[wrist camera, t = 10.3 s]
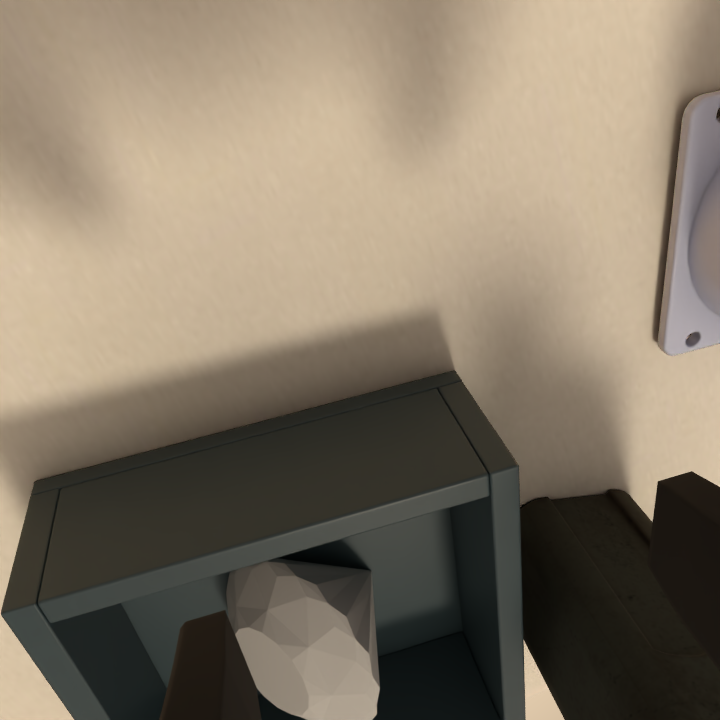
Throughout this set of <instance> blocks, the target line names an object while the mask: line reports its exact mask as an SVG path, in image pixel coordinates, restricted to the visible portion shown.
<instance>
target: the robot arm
mask: <svg viewBox="0 0 720 720" xmlns="http://www.w3.org/2000/svg"><path fill="white" fill-rule="evenodd" d="M719 108H720V90H719V91H714V92H710V93H705V94H701V95H699V96H697V97H695V98H694V99H693V100H692V101H690V102H689V104H688V105H687V107H686V108H685V110H684V114H683V117H682V126H681V135H680V144H679V153H678V162H677V171H676V180H675V189H674V199H673V208H672V217H671V226H670V235H669V244H668V253H667V262H666V271H665V281H664V290H663V299H662V308H661V317H660V326H659V335H658V347H659V348H660V349H661V350H662V351H663V352H664V353H666V354H667V355H670V356H675V355H679V354H683V353H687V352H690V351H694V350H698V349H701V348H705V347H709V346H712V345H716V344H720V117H719V118H716V114H717V111H718V109H719ZM691 333H692V334H691ZM690 334H691V336H690V337H689V338H688V339H686V338H687V337H688V336H689V335H690ZM647 565H648V567H649V568H650V570H651V572H652V573H653V575H654V577H655V579H656V580H657V582H658V584H659V585H660V587H661V589H662V590H663V592H664V594H665V596H666V597H667V599H668V600H669V602H670V604H671V605H672V607H673V608H674V610H675V612H676V613H677V615H678V616H679V618H680V620H681V621H682V623H683V624H684V625H685V627H686V628H687V629H688V631H689V632H690V633H691V635H692V636H693V637H694V639H695V640H696V641H697V642H698V644H699V645H700V646H701V648H702V649H703V650H704V652H705V653H706V654H707V655H708V657H709V658H710V659H711V661H712V662H713V663H714V665H715V666H716V667H717V668H718V670H719V671H720V487H719V486H717V485H715V484H713V483H712V482H710V481H708V480H706V479H704V478H703V477H701V476H699V475H697V474H695V473H694V472H688V473H685V474H681V475H678V476H675V477H671V478H668V479H665V480H661V481H658V485H657V493H656V501H655V509H654V517H653V525H652V532H651V540H650V548H649V556H648V564H647ZM159 720H262V719H261V713H260V706H259V700H258V694H257V688H256V685H255V682H254V680H253V677H252V675H251V673H250V670H249V668H248V665H247V663H246V660H245V658H244V655H243V653H242V650H241V648H240V646H239V643H238V641H237V638H236V636H235V633H234V631H233V628H232V626H231V623H230V621H229V619H228V616H227V614H226V611H225V610H223V611H220V612H217V613H213V614H210V615H206V616H203V617H200V618H196V619H193V620H190V621H186V622H185V623H184V624H183V625H182V627H181V628H180V631H179V637H178V642H177V648H176V652H175V657H174V662H173V666H172V671H171V675H170V679H169V683H168V687H167V692H166V695H165V699H164V703H163V707H162V711H161V714H160V718H159Z"/></svg>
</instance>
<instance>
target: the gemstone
mask: <svg viewBox="0 0 720 720" xmlns="http://www.w3.org/2000/svg"><path fill="white" fill-rule="evenodd" d="M226 597H227V608H228V616H229V621H230V623H231V626H232V628H233V631H234V633H235V636H236V638H237V641H238V643H239V646H240V648H241V650H242V653H243V655H244V658H245V660H246V663H247V665H248V668H249V670H250V673H251V675H252V677H253V680H254V682H255V685H256V688H257V689H258V690H259V691H260V692H261V694H262V695H263V696H264V697H265V698H266V699H268V700H269V701H270V702H271V703H273V704H274V705H275V706H276V707H277V708H279V709H281V710H283V711H285V712H287V713H289V714H291V715H295V716H299V717H301V718H304V719H307V720H373V718H374V717H375V716H376V715H377V701H378V696H379V691H380V683H379V669H378V655H377V641H376V627H375V613H374V599H373V585H372V572H371V570H363V569H355V568H347V567H340V566H332V565H324V564H316V563H309V562H301V561H293V560H286V559H278V558H275V559H271V560H268V561H264V562H261V563H257V564H254V565H251V566H247V567H244V568H240V569H237V570H233V571H230V573H229V578H228V584H227V590H226Z"/></svg>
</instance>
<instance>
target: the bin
mask: <svg viewBox="0 0 720 720" xmlns="http://www.w3.org/2000/svg"><path fill="white" fill-rule="evenodd" d="M275 558H278V559H286V560H293V561H301V562H309V563H316V564H324V565H332V566H340V567H347V568H355V569H363V570H371V572H372V585H373V599H374V613H375V627H376V641H377V655H378V669H379V683H380V691H379V696H378V701H377V715H376V716H375V717H374V718H373V720H525V683H524V644H523V605H522V566H521V527H520V488H519V465H518V464H517V462H516V461H515V459H514V458H513V456H512V455H511V453H510V452H509V450H508V449H507V447H506V446H505V444H504V443H503V441H502V440H501V438H500V437H499V435H498V434H497V432H496V431H495V430H494V428H493V427H492V425H491V424H490V422H489V421H488V419H487V418H486V416H485V415H484V413H483V412H482V410H481V409H480V407H479V406H478V404H477V403H476V401H475V400H474V398H473V397H472V395H471V394H470V393H469V391H468V390H467V388H466V387H465V385H464V384H463V382H462V380H461V379H460V377H459V376H458V374H457V373H456V371H451V372H447V373H443V374H439V375H436V376H432V377H428V378H424V379H421V380H417V381H413V382H409V383H405V384H402V385H398V386H394V387H390V388H387V389H383V390H379V391H375V392H372V393H368V394H364V395H360V396H356V397H353V398H349V399H345V400H341V401H338V402H334V403H330V404H326V405H322V406H319V407H315V408H311V409H307V410H304V411H300V412H296V413H292V414H288V415H285V416H281V417H277V418H273V419H270V420H266V421H262V422H258V423H255V424H251V425H247V426H243V427H239V428H236V429H232V430H228V431H224V432H221V433H217V434H213V435H209V436H205V437H202V438H198V439H194V440H190V441H187V442H183V443H179V444H175V445H171V446H168V447H164V448H160V449H156V450H153V451H149V452H145V453H141V454H138V455H134V456H130V457H126V458H122V459H119V460H115V461H111V462H107V463H104V464H100V465H96V466H92V467H88V468H85V469H81V470H77V471H73V472H70V473H66V474H62V475H58V476H54V477H51V478H47V479H43V480H39V481H36V482H34V485H33V489H32V493H31V497H30V501H29V505H28V509H27V513H26V516H25V520H24V524H23V528H22V532H21V536H20V540H19V544H18V548H17V552H16V556H15V559H14V563H13V567H12V571H11V575H10V579H9V583H8V587H7V591H6V595H5V599H4V602H3V606H2V610H1V615H2V617H3V618H4V620H5V621H6V622H7V624H8V625H9V627H10V628H11V630H12V631H13V632H14V634H15V635H16V637H17V638H18V640H19V641H20V643H21V644H22V645H23V647H24V648H25V650H26V651H27V653H28V654H29V655H30V657H31V658H32V660H33V661H34V663H35V664H36V665H37V667H38V668H39V670H40V671H41V673H42V674H43V675H44V677H45V678H46V680H47V681H48V683H49V684H50V685H51V687H52V688H53V690H54V691H55V693H56V694H57V695H58V697H59V698H60V700H61V701H62V703H63V704H64V705H65V707H66V708H67V710H68V711H69V713H70V714H71V716H72V717H73V718H74V720H159V718H160V714H161V711H162V707H163V703H164V699H165V695H166V692H167V687H168V683H169V679H170V675H171V671H172V666H173V662H174V657H175V652H176V648H177V642H178V637H179V631H180V628H181V627H182V625H183V624H184V623H185V622H186V621H190V620H193V619H196V618H200V617H203V616H206V615H210V614H213V613H217V612H220V611H223V610H225V611H226V614H227V616H228V608H227V597H226V590H227V584H228V578H229V573H230V571H233V570H237V569H240V568H244V567H247V566H251V565H254V564H257V563H261V562H264V561H268V560H271V559H275ZM228 619H229V616H228ZM257 694H258V700H259V706H260V713H261V719H262V720H307V719H304V718H301V717H299V716H295V715H291V714H289V713H287V712H285V711H283V710H281V709H279V708H277V707H276V706H275V705H274V704H273V703H271V702H270V701H269V700H268V699H266V698H265V697H264V696H263V695H262V694H261V692H260V691H259V690H258V689H257Z"/></svg>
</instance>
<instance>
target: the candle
mask: <svg viewBox="0 0 720 720" xmlns="http://www.w3.org/2000/svg"><path fill="white" fill-rule="evenodd" d="M652 525H653V523H652V521H651V520H650V519H649V518H648V517H647V515H646V514H645V513H644V512H643V511H642V510H641V508H640V507H639V506H638V505H637V504H636V502H635V501H634V500H633V499H632V498H631V496H630V495H628V494H627V493H626V492H624V491H620V490H609V491H608V492H607V493H606V494H605V495H596V496H587V497H578V498H569V499H560V500H550V499H549V498H548V497H545V498H540V499H537V500H534V501H532V502H530V503H528V504H526V505H525V506H523V507H522V508H521V509H520V527H521V566H522V605H523V639H524V641H525V643H526V645H527V647H528V649H529V651H530V653H531V655H532V657H533V659H534V660H535V662H536V664H537V666H538V668H539V670H540V672H541V674H542V676H543V678H544V680H545V682H546V684H547V686H548V688H549V690H550V692H551V694H552V696H553V698H554V700H555V701H556V704H557V706H558V707H559V709H560V711H561V713H562V715H563V717H564V719H565V720H720V671H719V670H718V668H717V667H716V666H715V665H714V663H713V662H712V661H711V659H710V658H709V657H708V655H707V654H706V653H705V652H704V650H703V649H702V648H701V646H700V645H699V644H698V642H697V641H696V640H695V639H694V637H693V636H692V635H691V633H690V632H689V631H688V629H687V628H686V627H685V625H684V624H683V623H682V621H681V620H680V618H679V616H678V615H677V613H676V612H675V610H674V608H673V607H672V605H671V604H670V602H669V600H668V599H667V597H666V596H665V594H664V592H663V590H662V589H661V587H660V585H659V584H658V582H657V580H656V579H655V577H654V575H653V573H652V572H651V570H650V568H649V567H648V565H647V564H648V556H649V548H650V540H651V532H652Z"/></svg>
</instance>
